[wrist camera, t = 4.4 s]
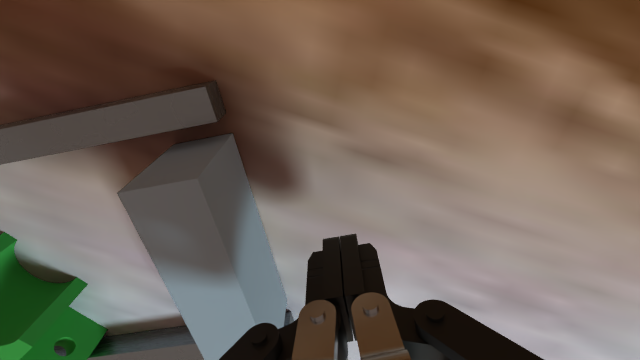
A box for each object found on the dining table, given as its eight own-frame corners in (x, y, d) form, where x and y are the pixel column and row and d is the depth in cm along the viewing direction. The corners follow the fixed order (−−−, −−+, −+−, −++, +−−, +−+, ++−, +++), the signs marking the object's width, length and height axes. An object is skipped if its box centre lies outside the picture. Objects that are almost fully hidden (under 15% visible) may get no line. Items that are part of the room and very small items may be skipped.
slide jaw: (173, 144, 16) (117, 193, 12) (232, 133, 16) (197, 178, 12) (240, 306, 21) (218, 385, 17) (287, 300, 21) (276, 378, 16)
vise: (-240, 175, 17) (-436, 231, 13) (215, 80, 15) (169, 107, 11) (-38, 372, 24) (-120, 453, 20) (296, 327, 22) (289, 407, 17)
